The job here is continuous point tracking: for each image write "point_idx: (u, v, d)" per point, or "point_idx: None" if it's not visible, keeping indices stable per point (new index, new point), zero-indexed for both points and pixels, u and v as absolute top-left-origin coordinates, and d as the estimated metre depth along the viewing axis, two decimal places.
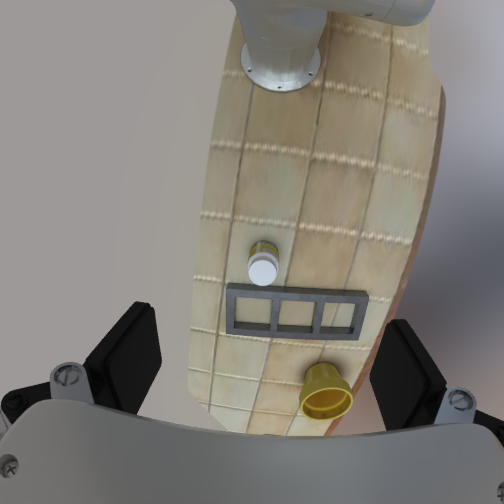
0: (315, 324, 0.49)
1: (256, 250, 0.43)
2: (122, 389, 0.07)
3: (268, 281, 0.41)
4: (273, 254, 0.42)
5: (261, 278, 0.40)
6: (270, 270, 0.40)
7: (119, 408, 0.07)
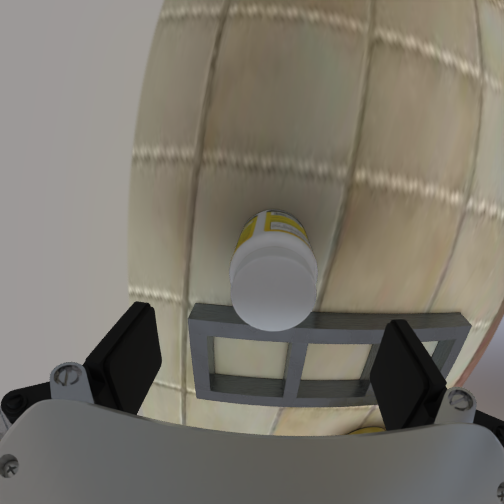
0: None
1: (255, 229, 0.16)
2: (122, 389, 0.07)
3: (290, 319, 0.13)
4: (302, 239, 0.15)
5: (270, 311, 0.13)
6: (298, 289, 0.13)
7: (119, 408, 0.07)
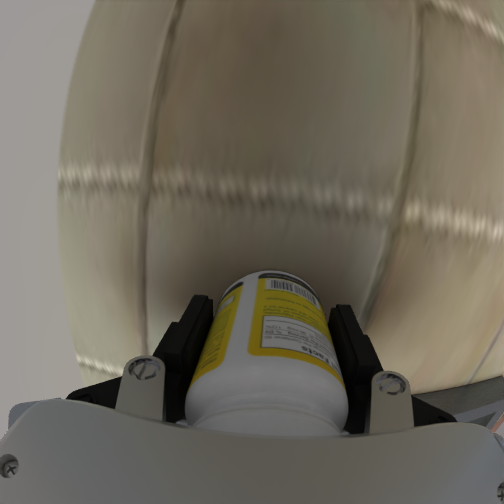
0: None
1: (232, 333, 0.08)
2: None
3: None
4: (325, 362, 0.07)
5: None
6: None
7: None
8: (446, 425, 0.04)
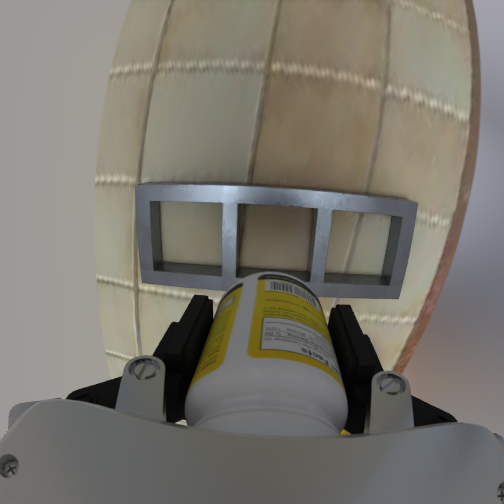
0: (315, 261, 0.24)
1: (232, 335, 0.08)
2: None
3: None
4: (325, 364, 0.07)
5: None
6: None
7: None
8: (446, 425, 0.04)
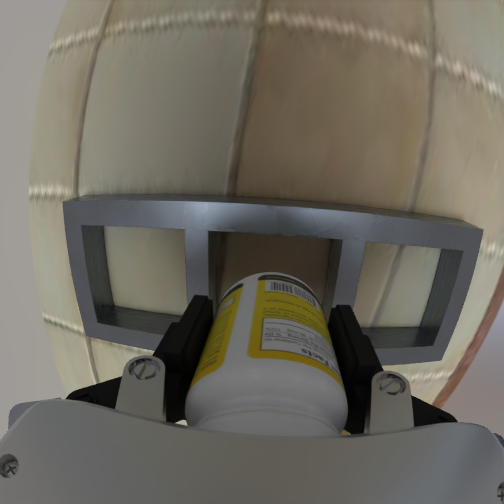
0: None
1: (232, 335, 0.08)
2: None
3: None
4: (325, 364, 0.07)
5: None
6: None
7: None
8: (446, 425, 0.04)
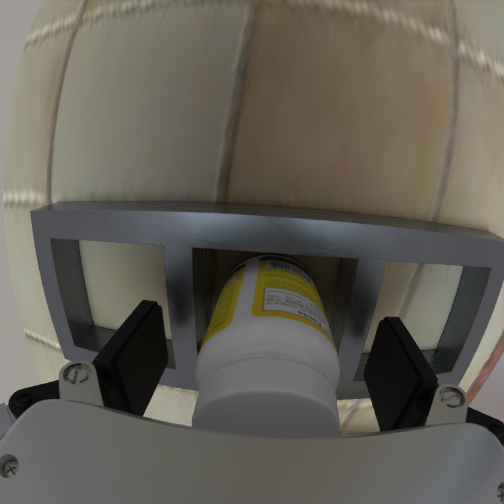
0: (342, 351, 0.12)
1: (238, 302, 0.09)
2: (131, 387, 0.08)
3: None
4: (318, 325, 0.08)
5: None
6: (309, 429, 0.06)
7: (128, 406, 0.07)
8: (446, 425, 0.04)
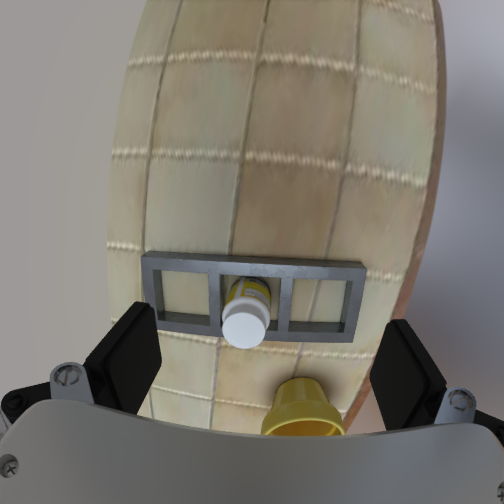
0: (280, 316, 0.31)
1: (236, 293, 0.29)
2: (122, 389, 0.07)
3: (253, 342, 0.26)
4: (261, 300, 0.28)
5: (242, 338, 0.26)
6: (255, 327, 0.25)
7: (119, 408, 0.07)
8: (446, 425, 0.04)
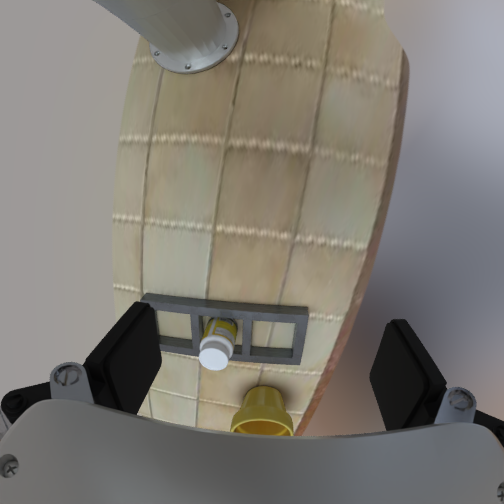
0: (243, 344, 0.42)
1: (209, 330, 0.39)
2: (122, 389, 0.07)
3: (220, 367, 0.36)
4: (227, 337, 0.38)
5: (212, 364, 0.36)
6: (221, 358, 0.35)
7: (119, 408, 0.07)
8: (446, 425, 0.04)
